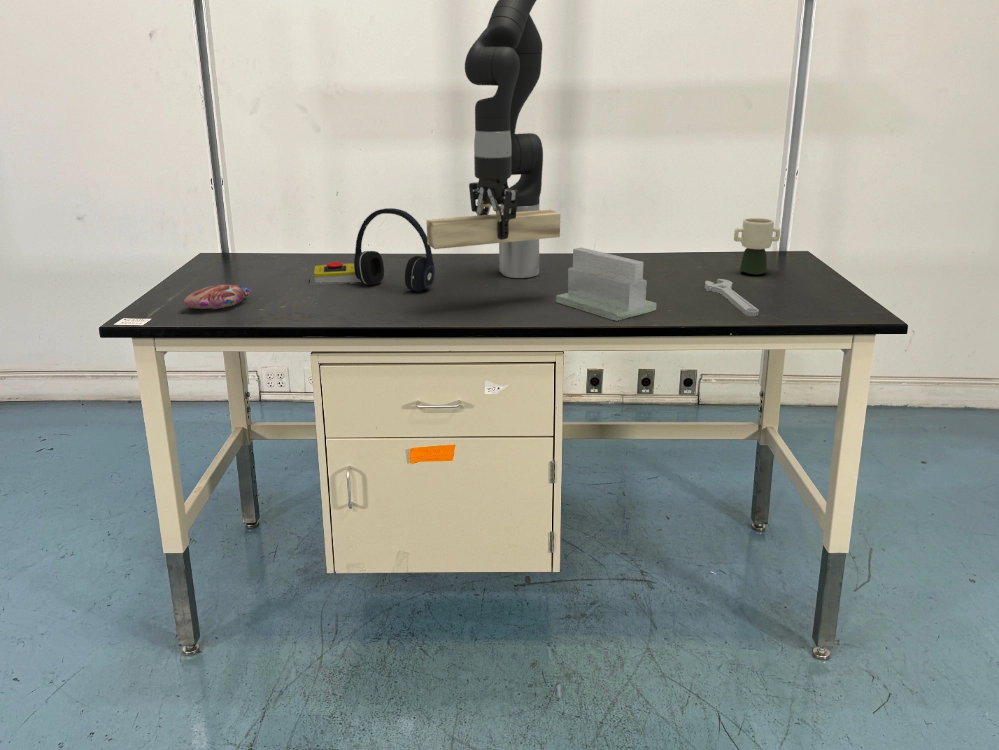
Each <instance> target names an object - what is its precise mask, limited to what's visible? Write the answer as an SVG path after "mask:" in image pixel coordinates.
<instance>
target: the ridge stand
mask: <svg viewBox="0 0 999 750" xmlns="http://www.w3.org/2000/svg"><path fill="white" fill-rule="evenodd" d="M567 274H568V275H567V276H568V277H567V278H568V279H567V292H565V293H561V294H557V295H556V296H555V303H558V304H561V305H562V306H566V307H569V308H573V309H576V310H579V311H583V312H585V313H589V314H592V315H595V316H598V317H601V318H605V319H608V320H611V321H614V320H615V321H614V322H619V321H622V319H623V320H626V319H630V318H633V317H635V316H636V317H637V316H640V315H643V314H647V313H651V312H653V311H657V302H654V301H651V300H647V285H648V284H647V283H648V282H647V281H648V280H647V279H644V261H641V260H636V259H632V258H627V257H623V256H618V255H616V254H615V255H614V254H611V253H607V252H604V251H603V252H602V251H599V250H598V251H597V250H593V249H590V248H585V247H577V248H573V249H572V267H568V271H567ZM629 317H630V318H629ZM618 320H619V321H618Z"/></svg>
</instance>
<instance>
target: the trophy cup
mask: <svg viewBox="0 0 999 750" xmlns="http://www.w3.org/2000/svg"><path fill="white" fill-rule="evenodd" d="M774 232H775V236H774V237H773V235H774ZM739 233H741V237H739ZM733 234H734V235H733V241H734V242H739V243H741V246H742V247H744V248H745V249H744V251H743V255H742V259H741V262H740V268H739V271H741V272H743V273H745V274H746V275H747V274H750V275H762V274H766V273H767V272H768V271H767V269H768V267H767V261H768V260H767V252H766V249H769V248H771V247H772V244H773V242H779V241H780V237H781V228H780V227H775V221H774V220H773V219H770V218H764V217H763V218H762V217H748V218H744V219H743V221H742V227H736V228H735V229H734V233H733Z"/></svg>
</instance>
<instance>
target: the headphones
mask: <svg viewBox="0 0 999 750" xmlns="http://www.w3.org/2000/svg"><path fill="white" fill-rule="evenodd" d="M383 214H384V215H385V214H386V215H387V214H389V215H390V214H391V215H396V216H397V217H398V216H399V217H401V218H403V219H404V220H406V221H407V222H408V223H409V224H410V225H412V227H413V228H414V229H415V230H416V232H417V233H418V235H419V237H420V239H421V240H422V243H423V247H424V250H425V256H420V255H415V256H413V257H411V258H409V259H408V261H407V263H406V265H405V266H406V267H405V269H404V284H405V287H406V288H407V289H409V290H411V291H415V292H422V291H424V290H425V289H430V287H432V286H433V283H434V281H435V275H436V274H435V273H436V272H435V271H436V268H435V263H434V259H433V252H432V247H431V246H429V245H428V244H427V233H426V232H425V230H424V229H423V227H422V225H421V224H420V223H419V221H417V219H416V218H415V217H414V216H413V215H412V214H410V213H408V212H407V211H406V210H403V209H399V208H391V207H390V208H382V209H381V208H380V209H377V210H374V211H373V212H371V213H370V214H369V215H368V216H366V218H365V219H364V220H363V222H362V224H361V226H360V227H359V230H358V232H357V237H356V242H355V248H354V249H355V251H354V259H353V260H354V261H353V263H354V270H355V274H356V277H357V278H358V279H360V281H361V282H362V283H361V284H363V285H366V286H371V285H377V284H379V283H381V282H382V280H384V277H385V266H384V261H383V258H382V255H381V254H380V253H379V252H378V251H375V250H365V251H363V250H362V246H363V245H362V242H363V238H364V234H365V231H366V229H367V228H368V226H369V224H370V223H371V222H372V221H373V220H374V219H375V218H377V217H378V216H380V215H383Z"/></svg>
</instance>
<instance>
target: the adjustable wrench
mask: <svg viewBox="0 0 999 750" xmlns="http://www.w3.org/2000/svg"><path fill="white" fill-rule="evenodd" d="M704 289H705V291H706V292H711V293H712V292H713V293H716V292H717V294H719V293H720V295H721V294H722V295H721V296H722V297H724V298H725V299H726V300H727V299H728V301H729V302H730V303H731V304H732V305H734V306H735V307H736V308H737V309H738V310H739V311H740V312H742V313H743V314H744V315H745V316H747V317H758V316H759V311H760V310H759V308H757V307H756V306H754V305H753V304H751V303H750V302H749V301H748V300H747V299H745V298H743V296H741V295H739V294H738V293H737V292H736V291H735V290H733V282H732V281H730V280H729V279H724V278H718V279H716V283H715V282H712V281H709V280H705V283H704Z"/></svg>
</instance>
